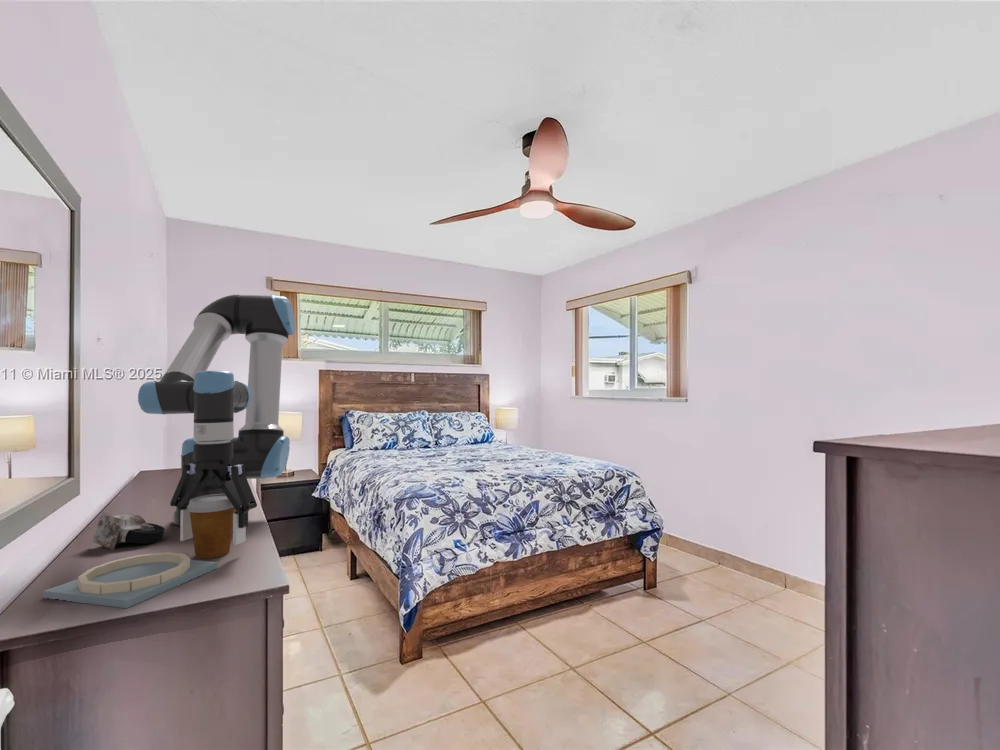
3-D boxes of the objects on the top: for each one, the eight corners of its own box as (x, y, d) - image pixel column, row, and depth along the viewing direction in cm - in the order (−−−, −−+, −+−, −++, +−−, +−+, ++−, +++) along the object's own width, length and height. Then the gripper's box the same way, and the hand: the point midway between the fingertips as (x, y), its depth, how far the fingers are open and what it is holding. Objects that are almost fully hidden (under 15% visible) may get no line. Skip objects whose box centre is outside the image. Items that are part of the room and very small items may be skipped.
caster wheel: (166, 549, 115) (125, 556, 106) (132, 536, 118) (89, 542, 109) (175, 521, 116) (135, 526, 107) (141, 509, 119) (99, 512, 110)
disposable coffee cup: (247, 549, 106) (248, 494, 107) (207, 564, 98) (207, 504, 98) (217, 545, 110) (217, 492, 110) (175, 558, 101) (176, 500, 102)
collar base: (144, 561, 99) (144, 548, 99) (217, 568, 95) (217, 554, 95) (43, 598, 82) (43, 582, 82) (126, 608, 78) (126, 591, 78)
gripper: (151, 442, 104) (150, 542, 103) (249, 444, 98) (248, 550, 97) (182, 439, 111) (181, 532, 110) (275, 440, 105) (274, 539, 104)
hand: (212, 541), depth 104 cm, fingers open, 13 cm apart
